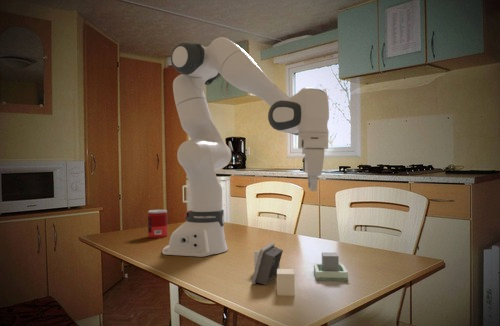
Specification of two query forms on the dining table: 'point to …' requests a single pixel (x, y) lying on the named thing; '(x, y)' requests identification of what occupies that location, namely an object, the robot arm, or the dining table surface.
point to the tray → (330, 274)
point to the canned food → (157, 223)
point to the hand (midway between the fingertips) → (312, 189)
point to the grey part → (330, 261)
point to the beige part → (285, 282)
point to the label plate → (256, 254)
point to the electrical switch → (267, 264)
